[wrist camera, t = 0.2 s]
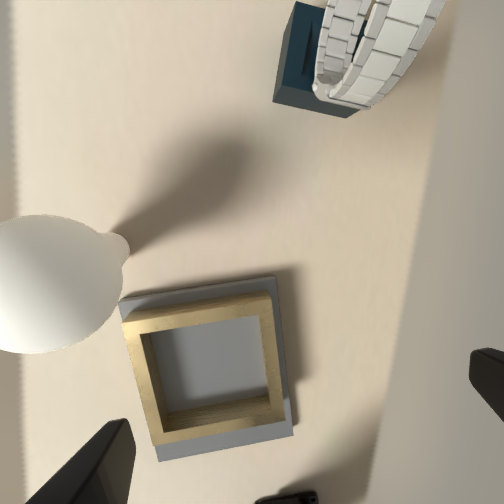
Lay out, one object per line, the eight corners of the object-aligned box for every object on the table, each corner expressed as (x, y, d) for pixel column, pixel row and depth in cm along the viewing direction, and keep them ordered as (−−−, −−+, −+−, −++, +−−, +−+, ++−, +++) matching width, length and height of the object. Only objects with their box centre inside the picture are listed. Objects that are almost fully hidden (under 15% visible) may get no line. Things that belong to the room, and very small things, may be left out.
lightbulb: (113, 187, 19) (-26, 182, 9) (175, 249, 21) (123, 313, 10) (53, 244, 20) (-151, 308, 9) (118, 302, 21) (8, 416, 10)
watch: (367, 20, 19) (562, -212, 8) (340, 143, 20) (471, 89, 9) (288, -2, 18) (384, -291, 7) (266, 128, 19) (318, 50, 9)
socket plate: (291, 428, 25) (299, 456, 23) (160, 453, 24) (152, 486, 22) (274, 275, 22) (281, 287, 19) (121, 298, 21) (106, 314, 18)
